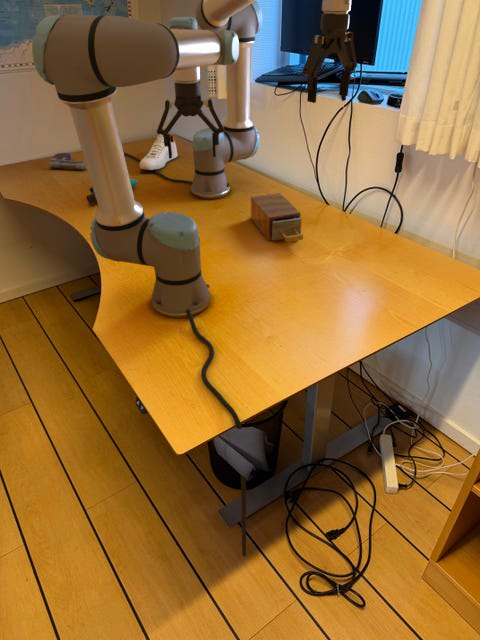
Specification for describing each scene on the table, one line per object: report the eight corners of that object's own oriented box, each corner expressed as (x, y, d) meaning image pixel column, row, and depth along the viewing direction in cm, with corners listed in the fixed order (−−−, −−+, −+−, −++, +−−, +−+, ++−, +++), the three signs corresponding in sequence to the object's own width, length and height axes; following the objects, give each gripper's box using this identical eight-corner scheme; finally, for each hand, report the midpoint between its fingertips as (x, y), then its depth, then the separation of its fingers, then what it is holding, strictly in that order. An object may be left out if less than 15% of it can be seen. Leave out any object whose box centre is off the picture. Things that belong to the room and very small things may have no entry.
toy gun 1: (97, 161, 222) (82, 172, 210) (61, 159, 225) (44, 169, 213) (96, 153, 220) (81, 163, 208) (59, 151, 223) (42, 161, 211)
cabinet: (299, 235, 157) (300, 213, 152) (268, 240, 154) (269, 217, 150) (279, 214, 171) (279, 193, 166) (250, 218, 168) (250, 196, 164)
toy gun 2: (64, 190, 179) (94, 197, 174) (109, 170, 198) (138, 176, 192) (66, 201, 182) (96, 209, 176) (111, 181, 200) (139, 187, 195)
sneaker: (133, 173, 208) (129, 144, 201) (161, 153, 230) (158, 127, 223) (155, 175, 205) (151, 146, 198) (180, 155, 227) (178, 129, 220)
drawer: (308, 244, 149) (309, 226, 146) (280, 249, 147) (280, 231, 144) (281, 216, 167) (281, 199, 164) (255, 219, 165) (255, 203, 161)
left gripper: (230, 77, 139) (232, 151, 151) (144, 79, 138) (153, 153, 151) (231, 82, 133) (233, 158, 145) (141, 84, 132) (151, 161, 144)
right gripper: (313, 16, 118) (306, 107, 131) (376, 10, 131) (365, 94, 143) (292, 14, 123) (288, 102, 136) (355, 9, 135) (346, 90, 148)
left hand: (192, 156), depth 148 cm, fingers open, 13 cm apart
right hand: (327, 98), depth 139 cm, fingers open, 13 cm apart
